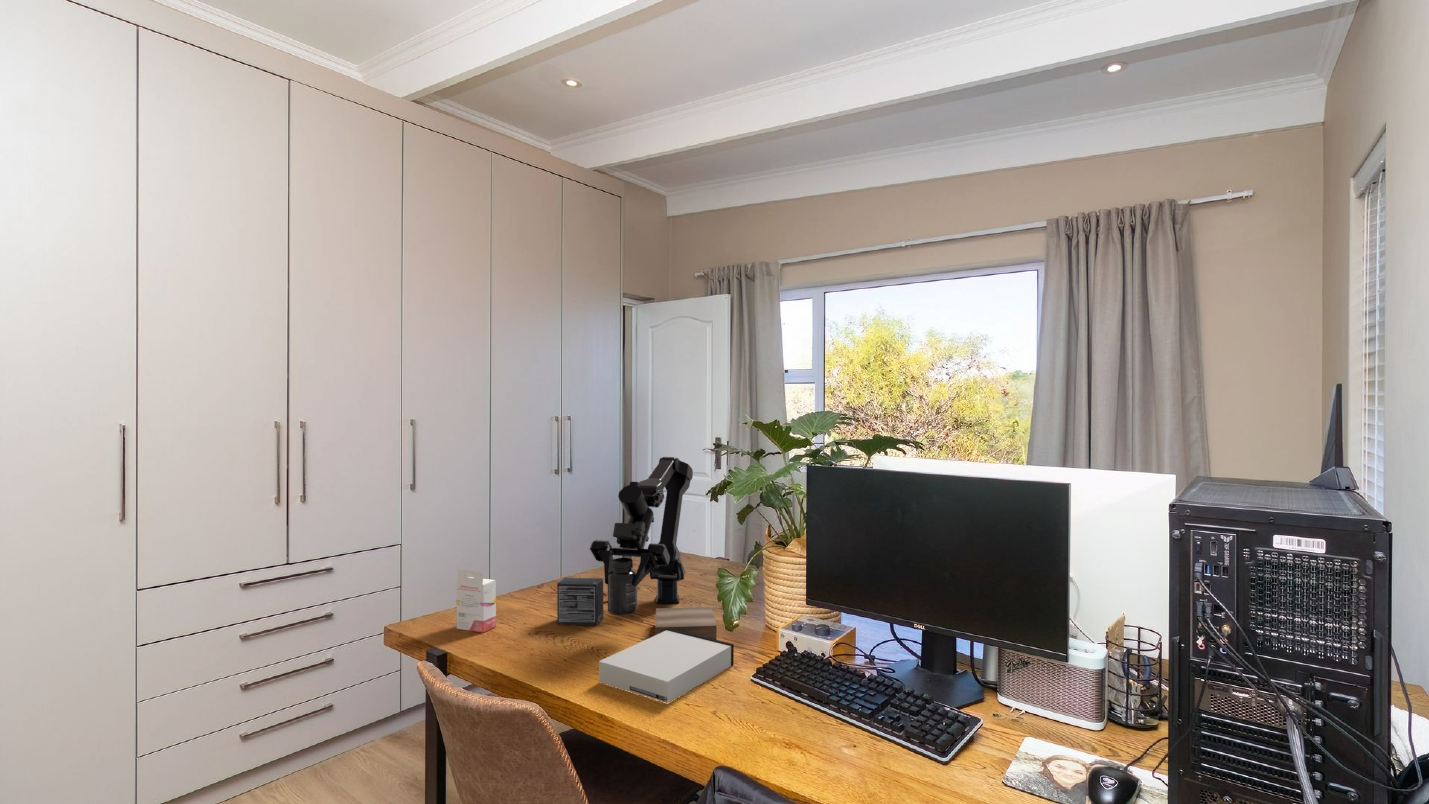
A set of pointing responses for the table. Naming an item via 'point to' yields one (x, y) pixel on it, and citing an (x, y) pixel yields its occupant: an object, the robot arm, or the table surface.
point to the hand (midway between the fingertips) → (620, 584)
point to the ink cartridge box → (475, 601)
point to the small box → (580, 601)
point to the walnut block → (687, 621)
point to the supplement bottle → (622, 588)
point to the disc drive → (666, 664)
